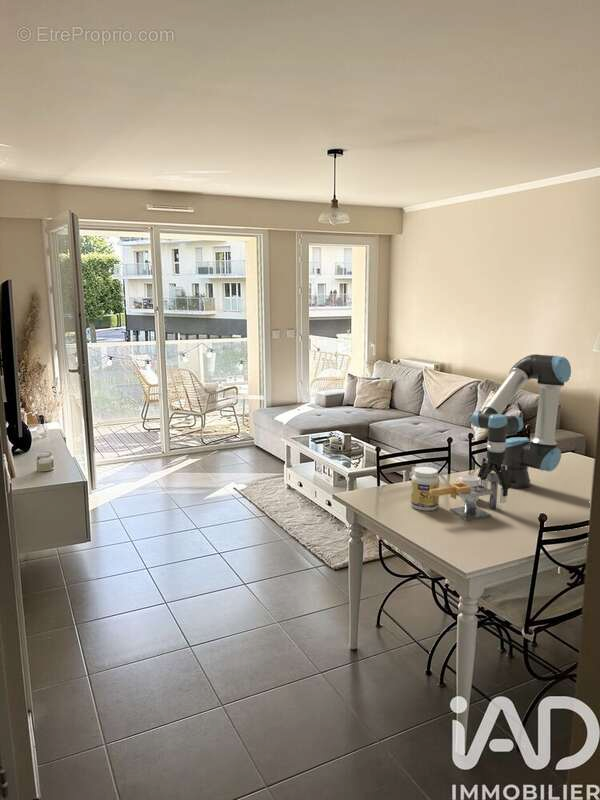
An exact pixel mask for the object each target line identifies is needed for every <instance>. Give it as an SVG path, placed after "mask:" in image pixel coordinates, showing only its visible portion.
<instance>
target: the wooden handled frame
mask: <svg viewBox="0 0 600 800" xmlns="http://www.w3.org/2000/svg"><path fill="white" fill-rule="evenodd" d="M448 486H449V487H446V486H445V487H439V488H438V489H431V490H430V491H429V494H430V496H431V497H434V496H439V497H440V496H446V495H450V496H449V497H450V498H452V499H453V500H456V499H457V495H456V492H457V493H463V492H469V491H471V487H470V486H468V485H466V484H464V483H462V482H461V481H459V482H458V483H456V482H454V483H449V484H448Z"/></svg>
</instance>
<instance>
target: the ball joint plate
mask: <svg viewBox="0 0 600 800" xmlns="http://www.w3.org/2000/svg"><path fill="white" fill-rule="evenodd" d="M465 484H466V485H468V486H470V487H471V491H469V492H463V493H457V492H456V497H459V498H460V497H461V498H463V499H465V501H464V506H460V507H453V508H450V509H449V512H451V513H453V514H455V515H456V516H458V517H460V518H462V519H463V520H466V521H468V522H469V521H473V520H479V519H485V518H490V517H491V515H492V514H491V513H489V512H487V511H485V510H484V509H481V508H479V507H477V501H476V500H477V497H478V496H479V497H483V496H490V494H493V491H492V490H490V488H488V487H487V488H486V487H483V486H481V484H480V485H479V484H477V483H474V482H472V483H465ZM445 487H449V485H447V486H445ZM461 498H460V499H461Z"/></svg>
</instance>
